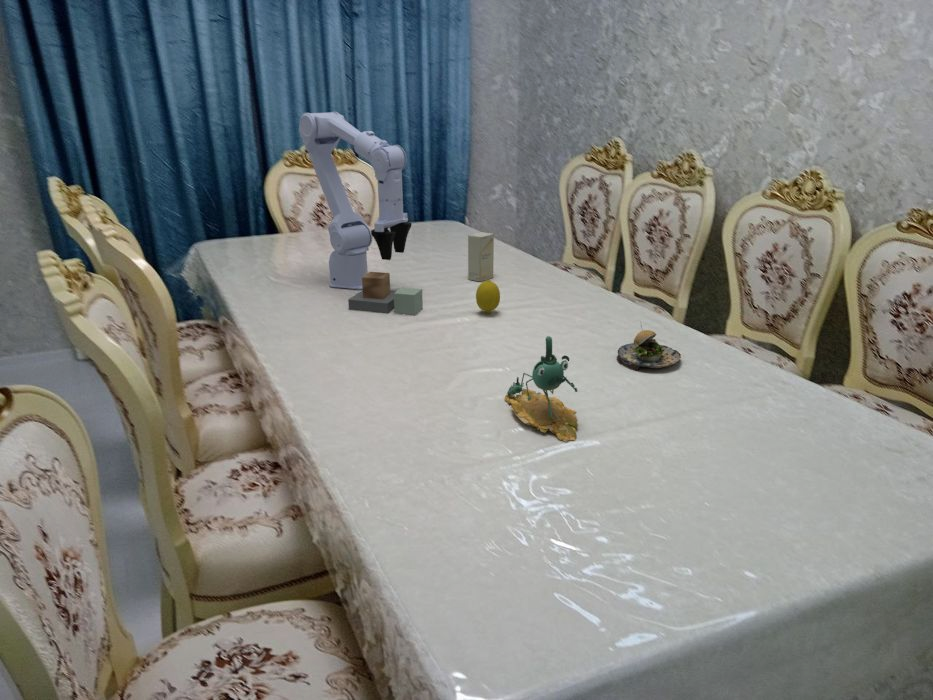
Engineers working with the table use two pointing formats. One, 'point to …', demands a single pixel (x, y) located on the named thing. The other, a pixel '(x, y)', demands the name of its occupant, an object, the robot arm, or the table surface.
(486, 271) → the skincare box
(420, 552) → the table surface
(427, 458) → the table surface
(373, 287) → the walnut cube
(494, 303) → the lemon
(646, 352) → the burger
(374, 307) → the charcoal block
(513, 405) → the green creature figurine
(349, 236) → the robot arm
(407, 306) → the sage cube
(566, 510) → the table surface
